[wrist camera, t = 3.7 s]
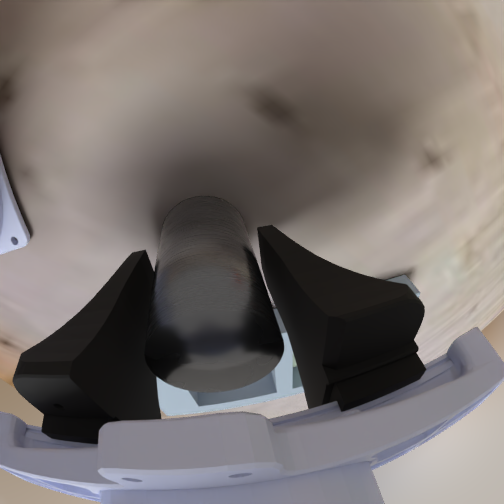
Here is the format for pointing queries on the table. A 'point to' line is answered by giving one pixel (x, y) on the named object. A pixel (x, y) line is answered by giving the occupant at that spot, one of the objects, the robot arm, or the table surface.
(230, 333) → the peg
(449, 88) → the table surface
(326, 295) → the robot arm
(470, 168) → the table surface
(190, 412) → the grey double-hole frame
